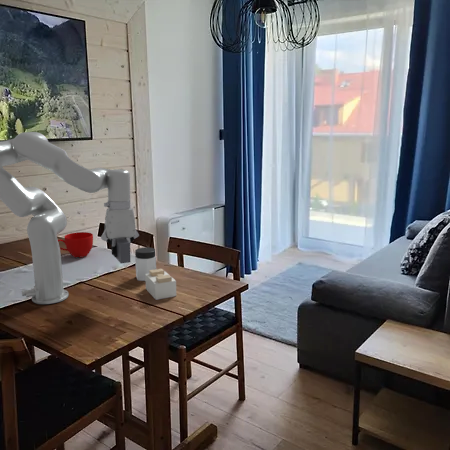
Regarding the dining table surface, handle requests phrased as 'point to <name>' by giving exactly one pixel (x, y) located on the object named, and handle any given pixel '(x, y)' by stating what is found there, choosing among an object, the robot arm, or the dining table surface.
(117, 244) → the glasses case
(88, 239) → the ceramic cup
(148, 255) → the jar
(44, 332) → the dining table surface
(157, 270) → the white toaster
